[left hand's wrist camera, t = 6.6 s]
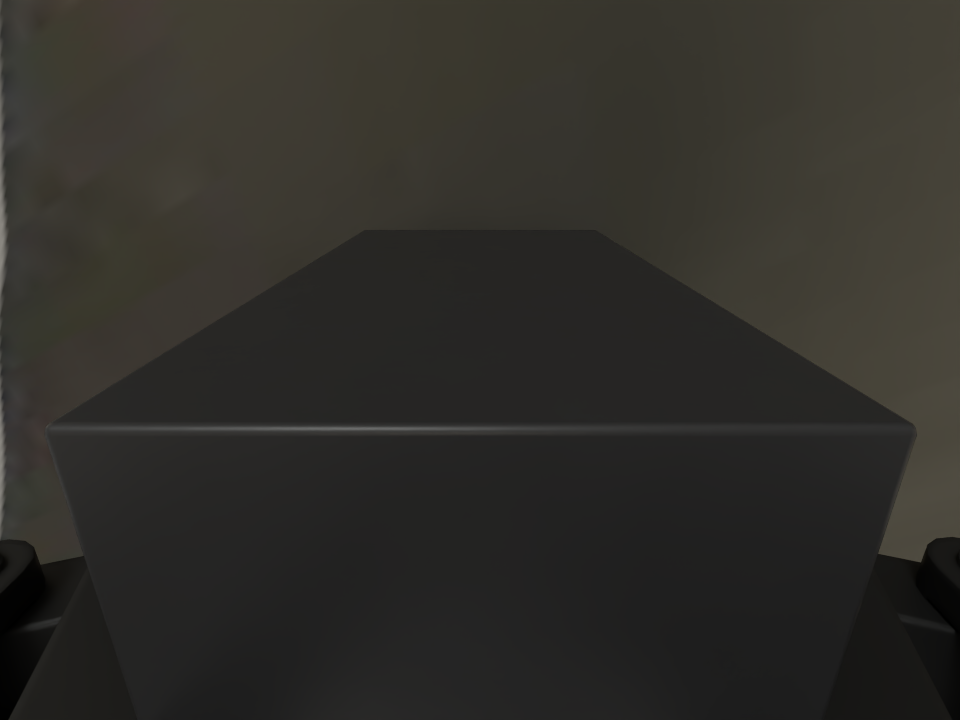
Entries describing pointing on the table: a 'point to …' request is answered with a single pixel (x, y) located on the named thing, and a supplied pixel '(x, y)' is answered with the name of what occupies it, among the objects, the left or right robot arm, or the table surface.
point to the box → (480, 496)
